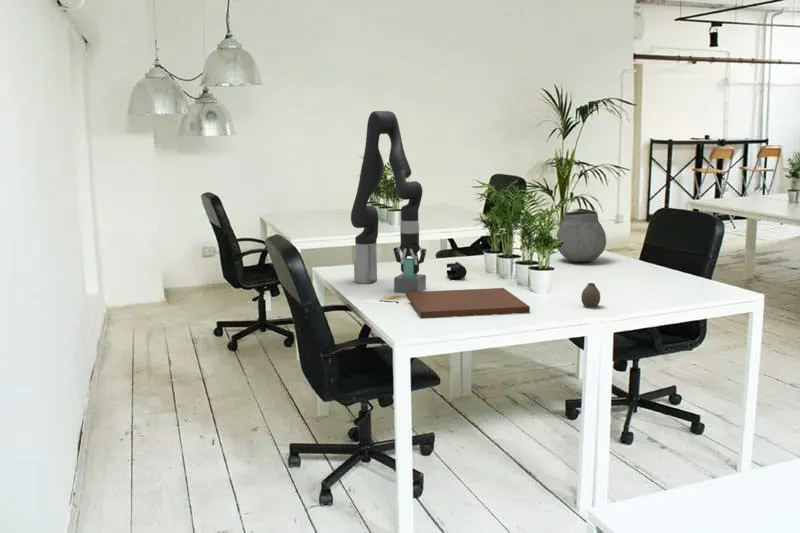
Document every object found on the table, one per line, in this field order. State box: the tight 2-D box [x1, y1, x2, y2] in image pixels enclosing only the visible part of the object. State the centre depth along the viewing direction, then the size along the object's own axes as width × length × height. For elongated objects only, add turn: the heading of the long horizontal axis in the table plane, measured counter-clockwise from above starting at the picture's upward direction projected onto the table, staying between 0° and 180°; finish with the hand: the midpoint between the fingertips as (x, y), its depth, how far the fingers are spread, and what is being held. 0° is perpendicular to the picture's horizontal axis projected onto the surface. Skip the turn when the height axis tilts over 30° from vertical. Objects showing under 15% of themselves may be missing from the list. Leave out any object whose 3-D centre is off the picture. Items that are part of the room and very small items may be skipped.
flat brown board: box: [405, 287, 531, 319], centre depth 286 cm, size 40×3×33 cm
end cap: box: [446, 261, 468, 281], centre depth 336 cm, size 10×7×7 cm
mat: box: [379, 294, 407, 304], centre depth 295 cm, size 8×8×1 cm
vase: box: [580, 282, 601, 308], centre depth 281 cm, size 7×7×9 cm
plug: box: [404, 257, 416, 278], centre depth 306 cm, size 4×4×13 cm
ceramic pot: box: [555, 210, 607, 263], centre depth 371 cm, size 24×24×25 cm
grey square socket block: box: [393, 273, 427, 294], centre depth 307 cm, size 10×10×7 cm
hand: (410, 272), depth 306 cm, fingers open, 4 cm apart
